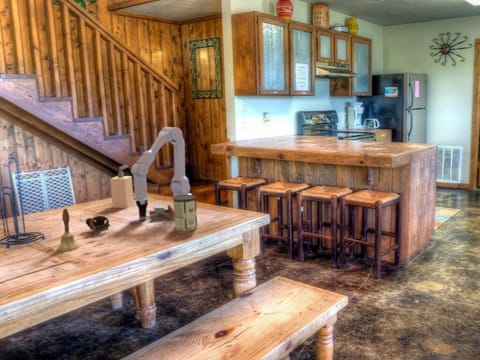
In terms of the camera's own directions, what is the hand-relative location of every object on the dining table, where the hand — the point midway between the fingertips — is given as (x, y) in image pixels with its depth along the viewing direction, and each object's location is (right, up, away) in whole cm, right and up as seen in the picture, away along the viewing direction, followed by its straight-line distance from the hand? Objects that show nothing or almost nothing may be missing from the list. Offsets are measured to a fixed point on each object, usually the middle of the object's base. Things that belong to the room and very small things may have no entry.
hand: (142, 215), depth 215 cm
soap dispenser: (-17, +3, +33) cm, 38 cm away
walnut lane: (+9, -1, +3) cm, 9 cm away
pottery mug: (-16, -6, -18) cm, 24 cm away
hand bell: (-21, -10, -39) cm, 46 cm away
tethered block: (+4, -1, +1) cm, 4 cm away
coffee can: (+23, -4, -16) cm, 28 cm away
